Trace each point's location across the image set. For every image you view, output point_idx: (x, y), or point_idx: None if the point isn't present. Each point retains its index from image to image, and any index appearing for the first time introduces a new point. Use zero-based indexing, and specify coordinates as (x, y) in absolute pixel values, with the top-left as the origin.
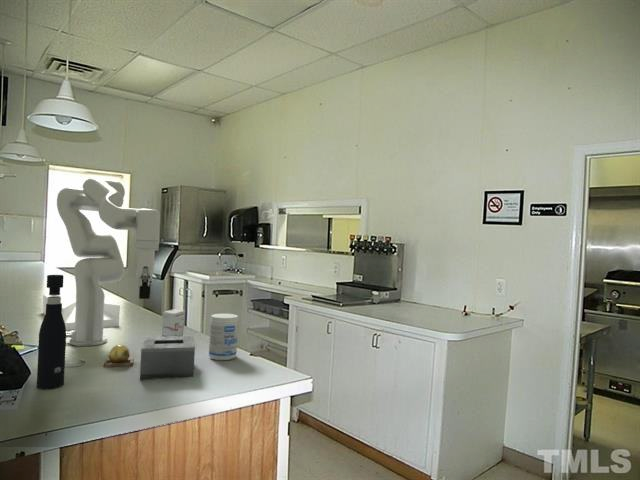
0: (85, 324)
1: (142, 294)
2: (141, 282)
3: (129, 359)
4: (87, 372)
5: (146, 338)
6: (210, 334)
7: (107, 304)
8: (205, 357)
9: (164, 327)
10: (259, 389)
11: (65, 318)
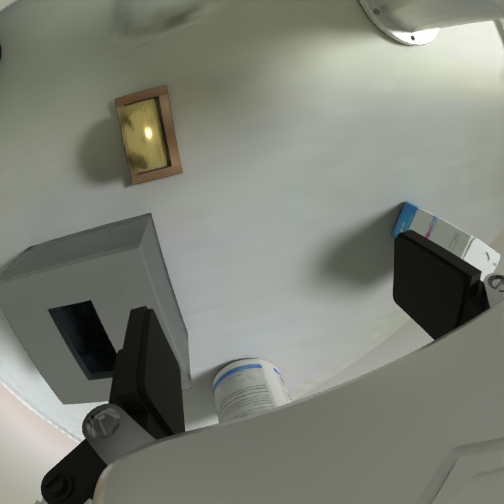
0: None
1: (119, 360)
2: (102, 456)
3: (175, 159)
4: (64, 82)
5: (111, 262)
6: (245, 407)
7: None
8: (242, 349)
9: (431, 224)
10: (65, 432)
11: None
